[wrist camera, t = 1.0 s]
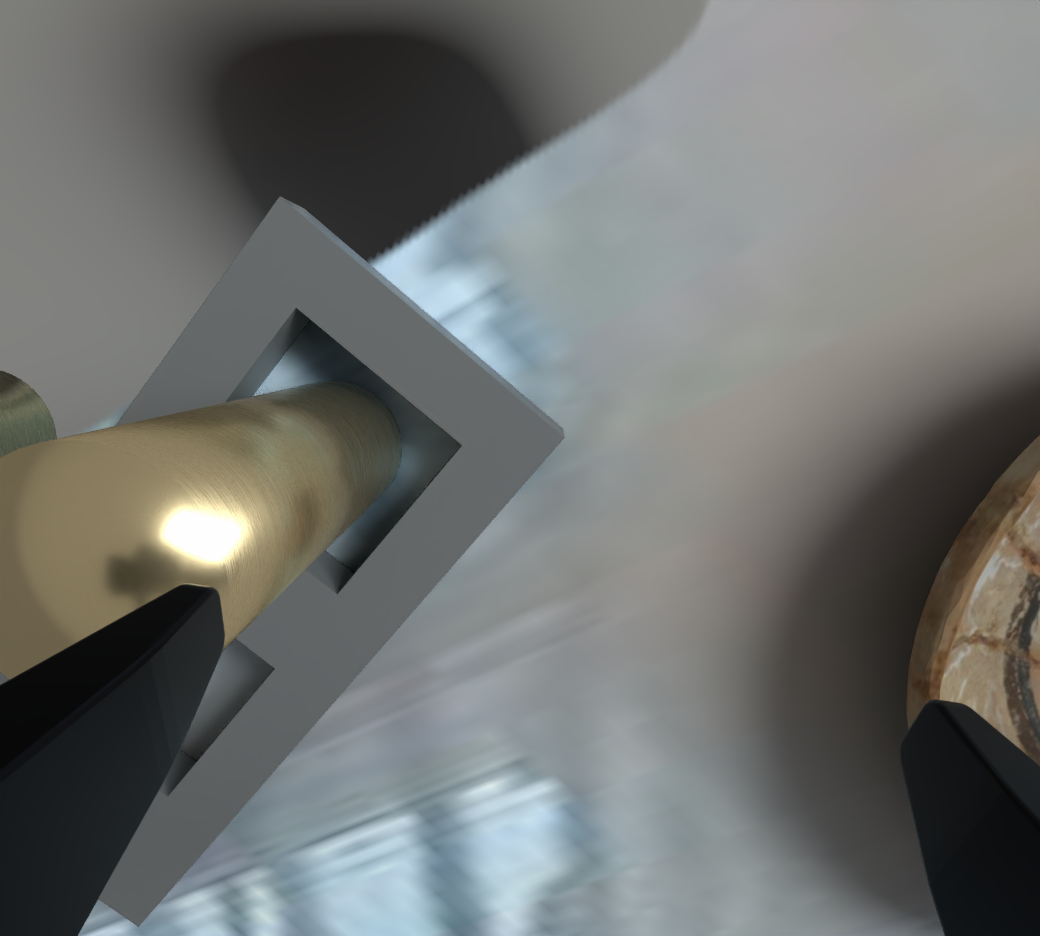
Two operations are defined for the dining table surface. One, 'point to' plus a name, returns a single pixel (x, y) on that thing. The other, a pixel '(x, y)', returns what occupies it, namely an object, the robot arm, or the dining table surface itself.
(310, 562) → the cylinder
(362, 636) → the frame
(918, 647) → the ceramic bowl
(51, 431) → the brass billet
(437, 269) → the dining table surface
